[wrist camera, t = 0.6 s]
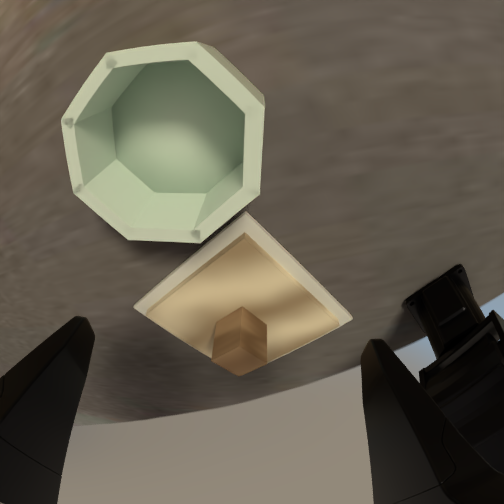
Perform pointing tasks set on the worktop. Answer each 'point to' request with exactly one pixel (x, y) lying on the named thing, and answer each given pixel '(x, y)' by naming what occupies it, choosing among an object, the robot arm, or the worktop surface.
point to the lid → (242, 309)
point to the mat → (262, 239)
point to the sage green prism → (165, 141)
